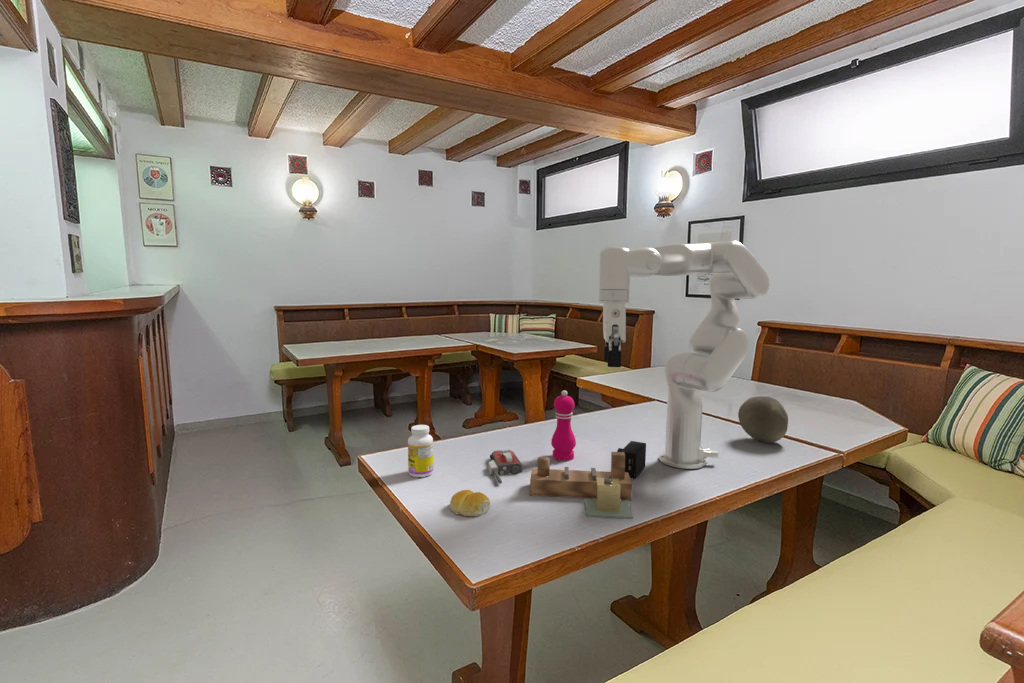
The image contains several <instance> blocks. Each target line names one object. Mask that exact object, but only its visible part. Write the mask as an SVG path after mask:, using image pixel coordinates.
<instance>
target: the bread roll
mask: <svg viewBox="0 0 1024 683" xmlns="http://www.w3.org/2000/svg"><path fill="white" fill-rule="evenodd" d="M449 505H450V506H449V507H450V511H451V512H452V513H454V514H456V513H457V514H456V515H459V514H460V515H462V516H463V515H464V517H466V516H475V517H480V516H481V514H482V515H483V513H484V514H486V513H487V512H488V511H489V510H490V508H491V501H490V498H489V496H487V495H486V494H484V493H482V492H480V491H479V492H478V491H477V492H474V491H473V490H470V489H462V490H459V491H457V492H455V493H454V494H453V495H452V496H451V498H450V501H449ZM479 515H480V516H479Z"/></svg>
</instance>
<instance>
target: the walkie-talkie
mask: <svg viewBox="0 0 1024 683" xmlns="http://www.w3.org/2000/svg"><path fill="white" fill-rule="evenodd" d="M489 459H490V461H489V462H488V471H489V474H490V475H491V474H493V475H494V478H495V480H496V481H497V483H498V484H502V483H503V481H502V479H501V477H500V475H501V476H502V475H507V474H509V473H512V474H514V475H516V474H521V473H522V470H523V465H522V462H521V461H520V459H519V458H518V457H517V455H516V453H515V452H514V451H513V450H511V449H502V450H494V451H493V452H492V453H491V454H490V455H489ZM509 475H510V474H509Z"/></svg>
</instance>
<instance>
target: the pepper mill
mask: <svg viewBox="0 0 1024 683" xmlns="http://www.w3.org/2000/svg"><path fill="white" fill-rule="evenodd" d="M575 406H576V405H575V400H574V399H573V397H572V396H569V395H568V391H567V390H562V391H561V394H560V395H559V396H557V397H555V399H554V402H553V407H554V409H555V418H556V428H555V430H554V432H553V434H552V437H551V440H550V441H551V442H550V444H551V447H553V450H552V458H554V459H555V460H558V461H572V460H573V459H574V458H575V451H574V449H575V447H576V445H577V441H576V436H575V434H574V432H573V429H572V425H571V424H572V423H571V420H572V418H573V414H574V413H573V410H574V409H575Z"/></svg>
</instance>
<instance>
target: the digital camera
mask: <svg viewBox="0 0 1024 683" xmlns="http://www.w3.org/2000/svg"><path fill="white" fill-rule="evenodd" d="M616 452H624V454H625V472H628V473H629V476H630V479H631V478H633V479H632V480H636V479H637V478H638V477H639V475H640V474H641V473H642V472H643V470H644V469H645V468H644V467H646V456H647V454H646V453H647V443H646V442H640V441H633V440H631V441H629V443H627V444H626V445H625V446H624V447H623V448H621V447H618V449H617V451H616ZM641 471H642V472H641ZM637 476H638V477H637Z"/></svg>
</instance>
